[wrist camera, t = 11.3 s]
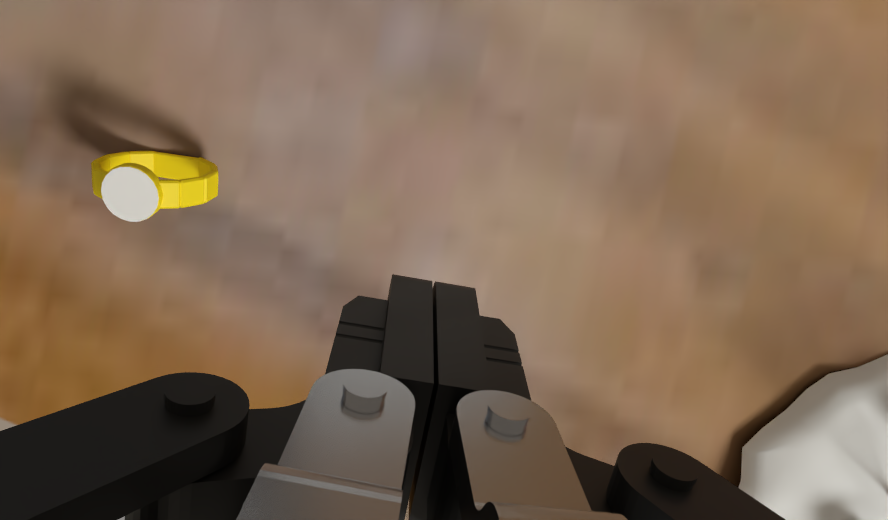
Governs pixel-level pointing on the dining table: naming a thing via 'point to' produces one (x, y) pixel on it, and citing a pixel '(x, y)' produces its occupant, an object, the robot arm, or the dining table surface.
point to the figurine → (825, 450)
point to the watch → (152, 182)
